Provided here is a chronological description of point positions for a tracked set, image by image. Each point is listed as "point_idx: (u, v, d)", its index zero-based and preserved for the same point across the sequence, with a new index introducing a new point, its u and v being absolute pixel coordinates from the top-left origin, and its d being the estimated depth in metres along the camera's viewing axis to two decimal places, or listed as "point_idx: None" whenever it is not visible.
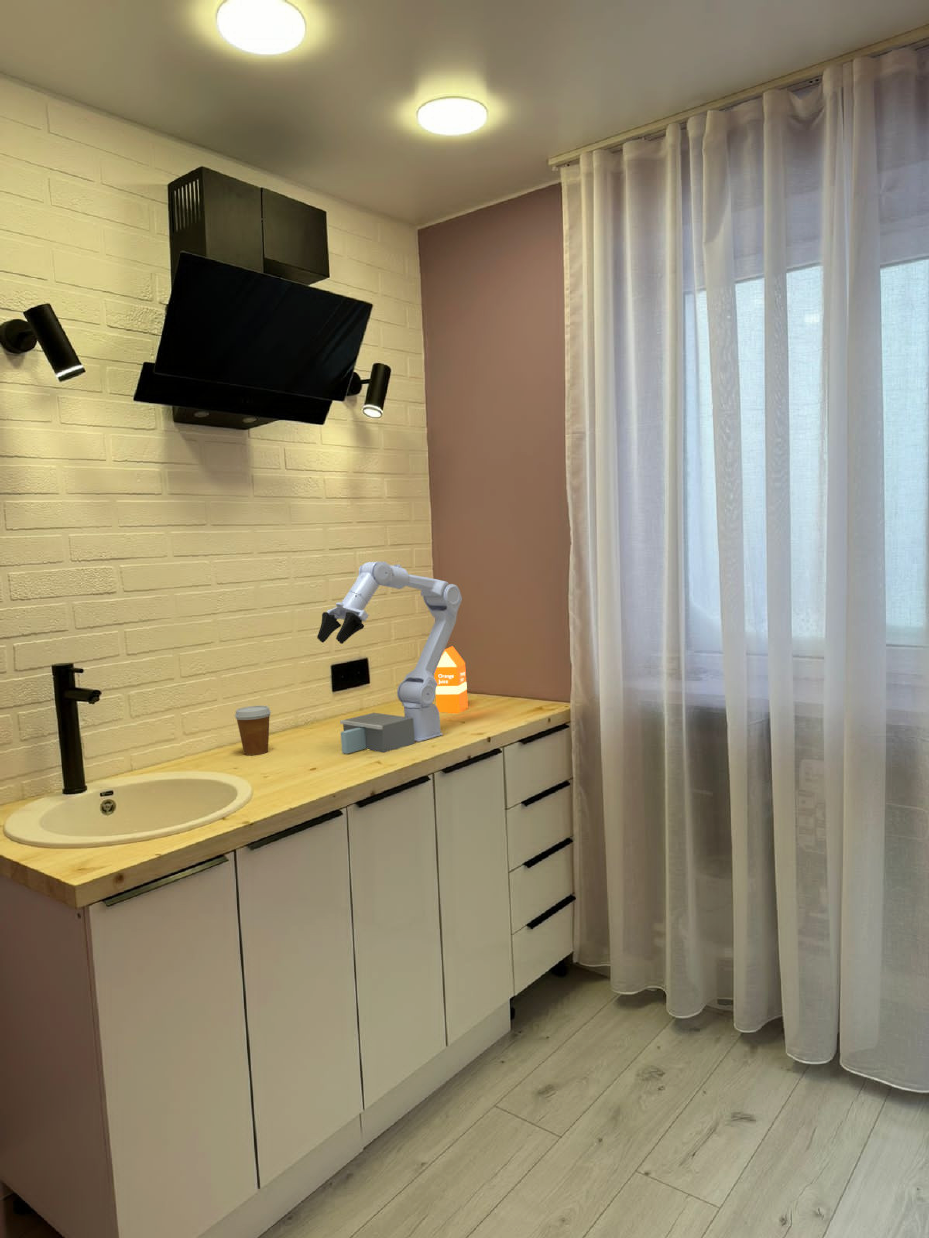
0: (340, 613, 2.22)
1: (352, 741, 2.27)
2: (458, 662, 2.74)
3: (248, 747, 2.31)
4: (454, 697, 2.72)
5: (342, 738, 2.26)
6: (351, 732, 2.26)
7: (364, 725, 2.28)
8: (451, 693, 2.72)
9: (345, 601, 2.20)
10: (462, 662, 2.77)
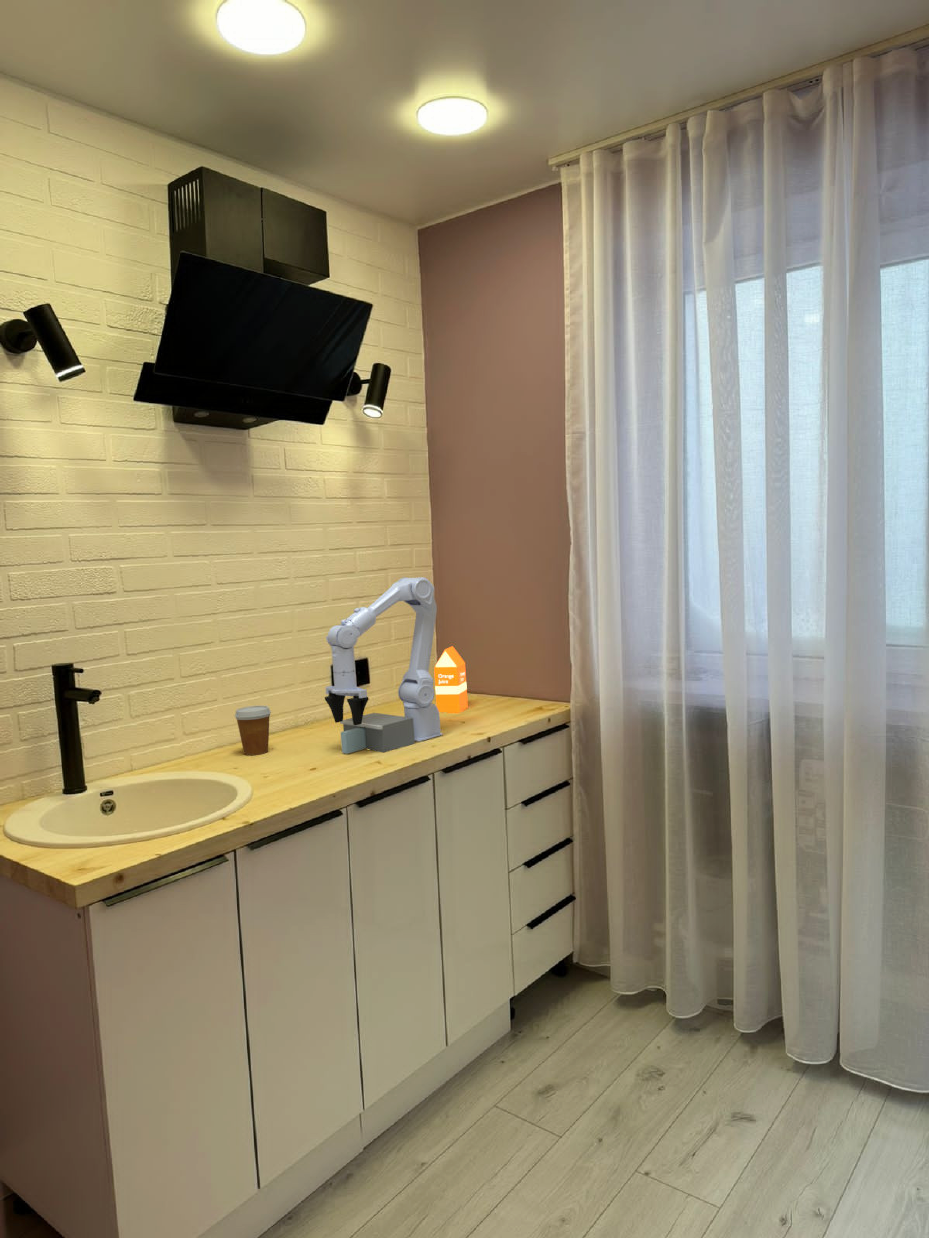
0: None
1: (352, 741, 2.27)
2: (458, 662, 2.74)
3: (248, 747, 2.31)
4: (454, 697, 2.72)
5: (342, 738, 2.26)
6: (351, 732, 2.26)
7: (364, 725, 2.28)
8: (451, 693, 2.72)
9: (337, 684, 2.24)
10: (462, 662, 2.77)
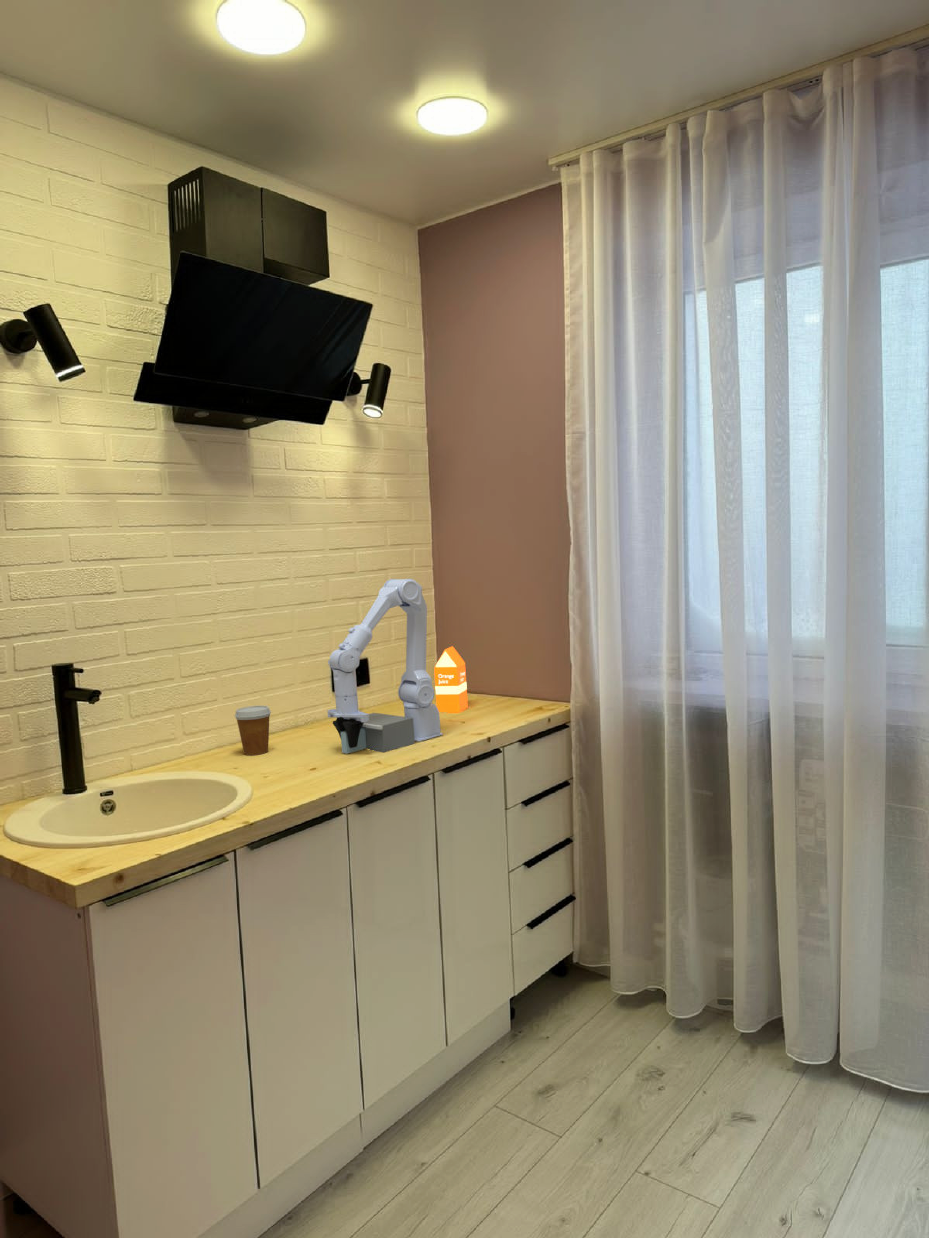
0: None
1: None
2: (458, 662, 2.74)
3: (248, 747, 2.31)
4: (454, 697, 2.72)
5: (342, 738, 2.26)
6: None
7: (364, 725, 2.28)
8: (451, 693, 2.72)
9: (339, 708, 2.24)
10: (462, 662, 2.77)
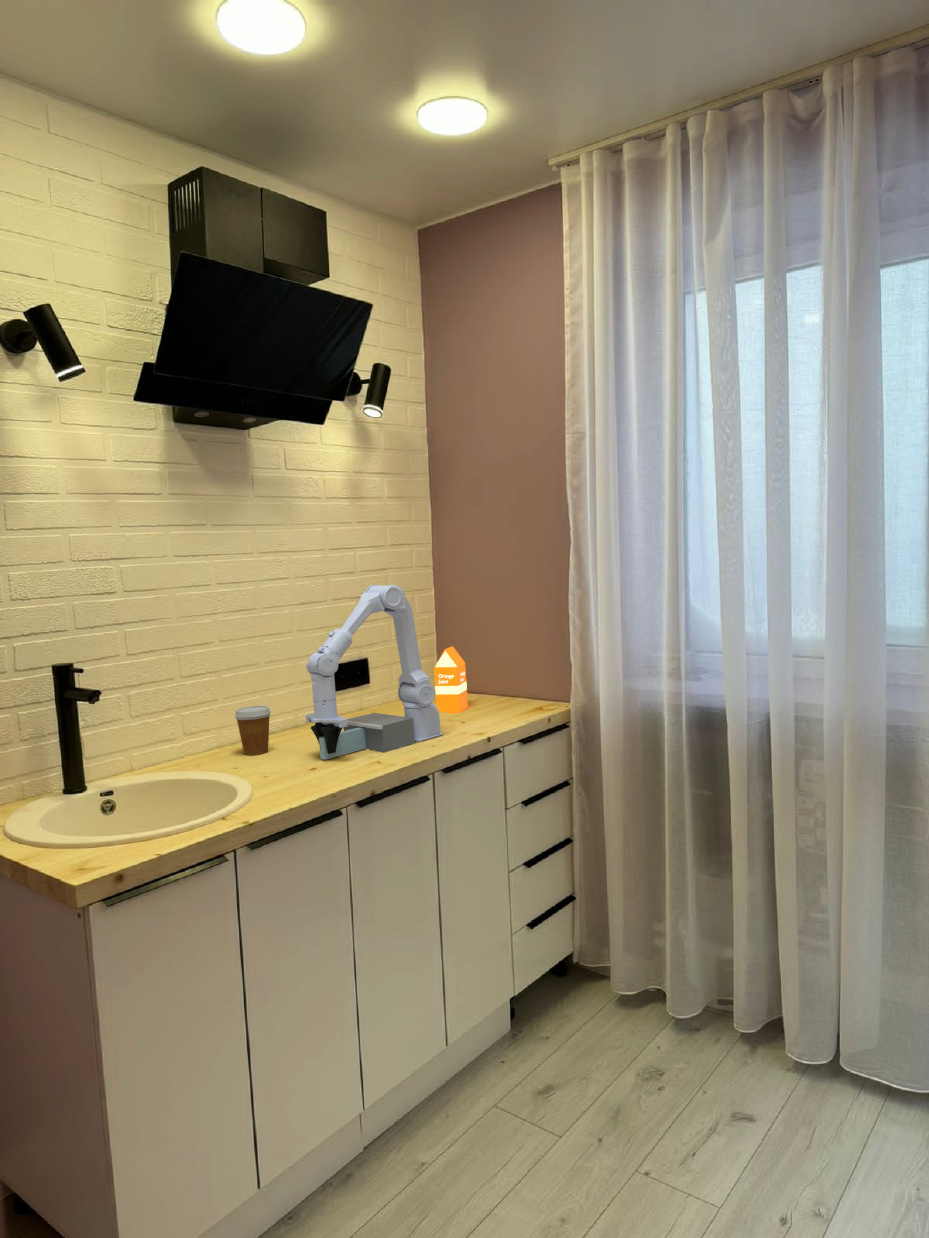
0: None
1: None
2: (458, 662, 2.74)
3: (248, 747, 2.31)
4: (454, 697, 2.72)
5: (320, 744, 2.21)
6: None
7: (364, 725, 2.28)
8: (451, 693, 2.72)
9: (317, 713, 2.19)
10: (462, 662, 2.77)
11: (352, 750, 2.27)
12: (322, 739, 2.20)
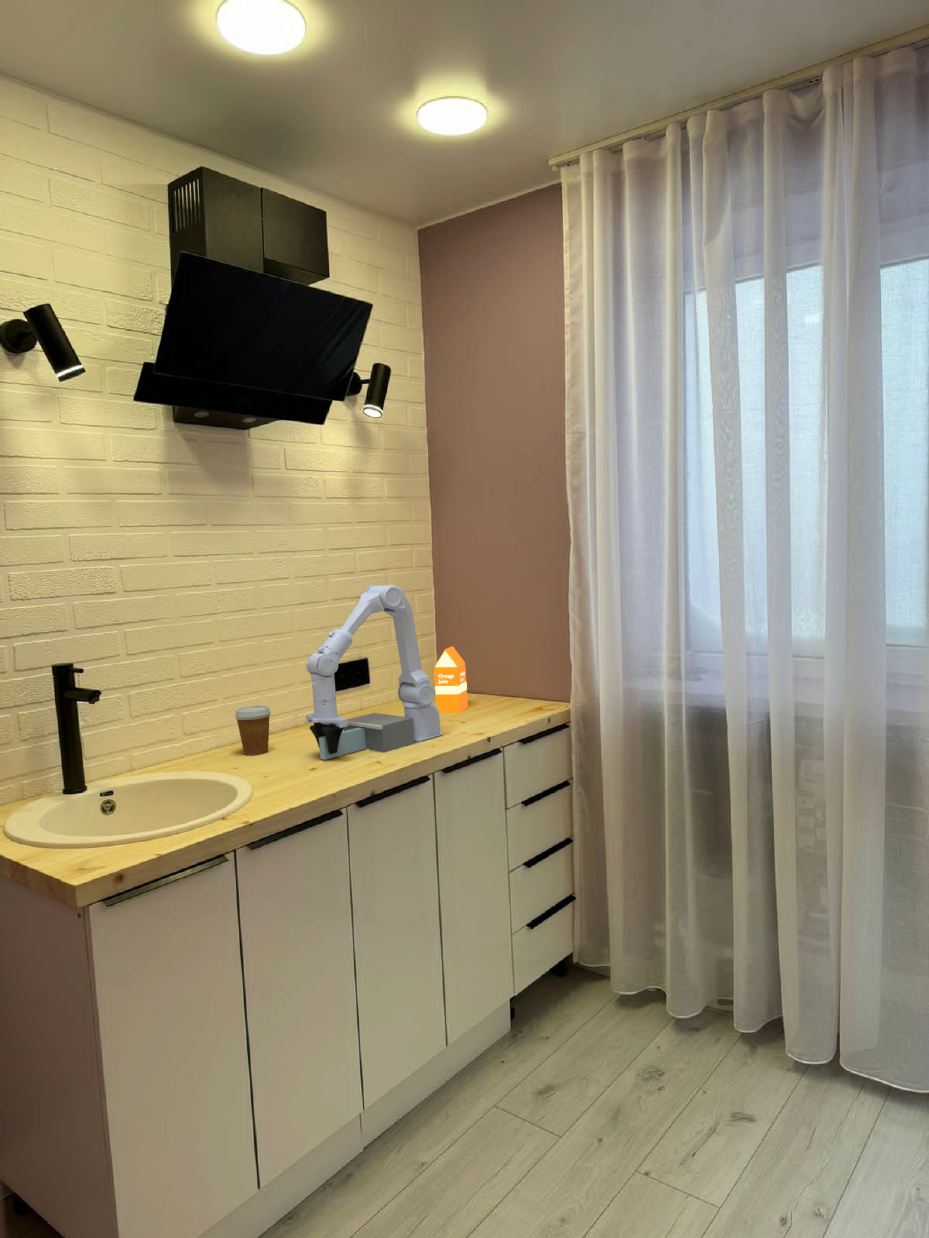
0: None
1: None
2: (458, 662, 2.74)
3: (248, 747, 2.31)
4: (454, 697, 2.72)
5: (320, 744, 2.21)
6: None
7: (364, 725, 2.28)
8: (451, 693, 2.72)
9: (317, 713, 2.19)
10: (462, 662, 2.77)
11: (352, 750, 2.27)
12: (322, 739, 2.20)
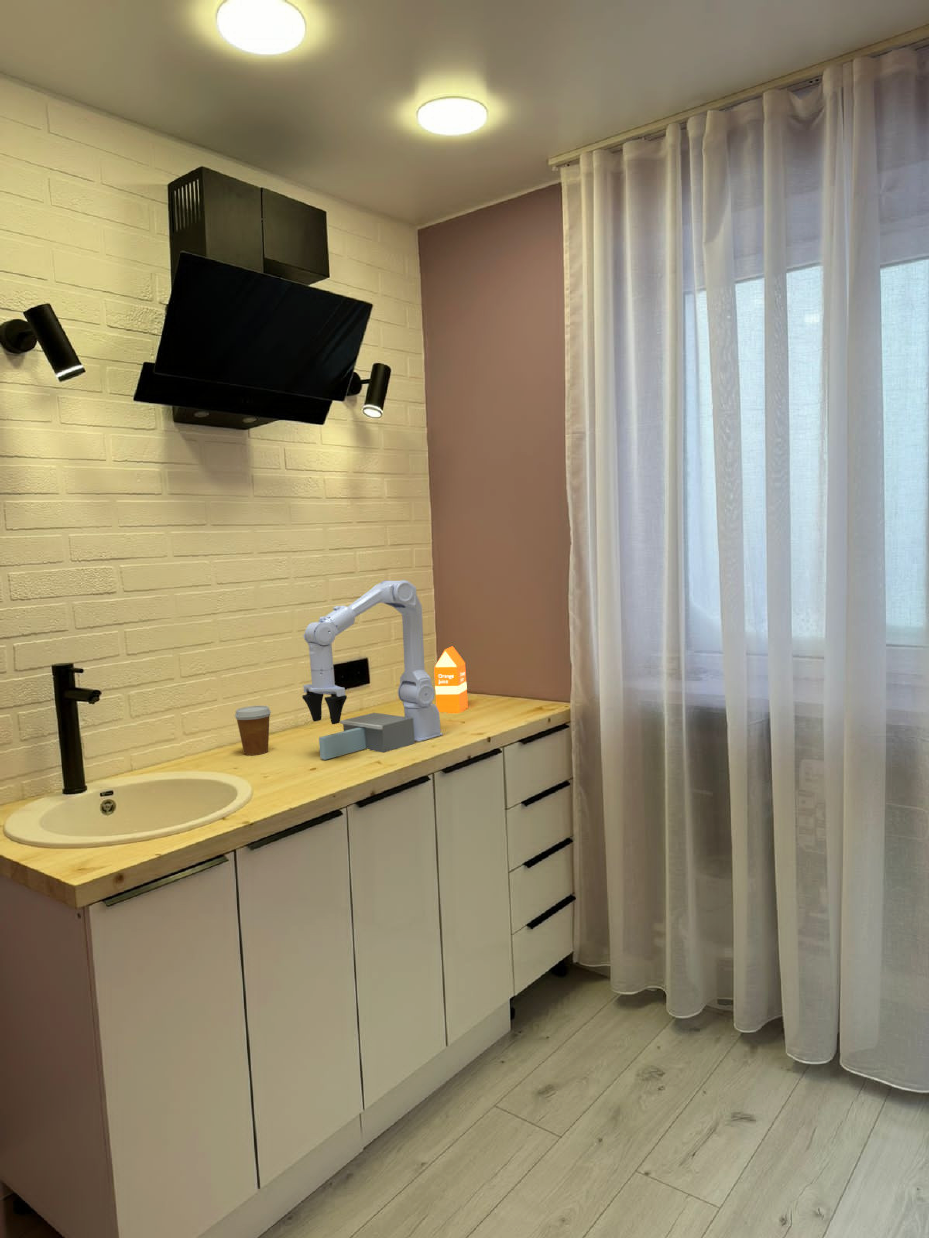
0: None
1: (330, 747, 2.22)
2: (458, 662, 2.74)
3: (248, 747, 2.31)
4: (454, 697, 2.72)
5: (320, 744, 2.21)
6: (330, 738, 2.21)
7: (364, 725, 2.28)
8: (451, 693, 2.72)
9: (315, 682, 2.19)
10: (462, 662, 2.77)
11: (352, 750, 2.27)
12: (322, 739, 2.20)
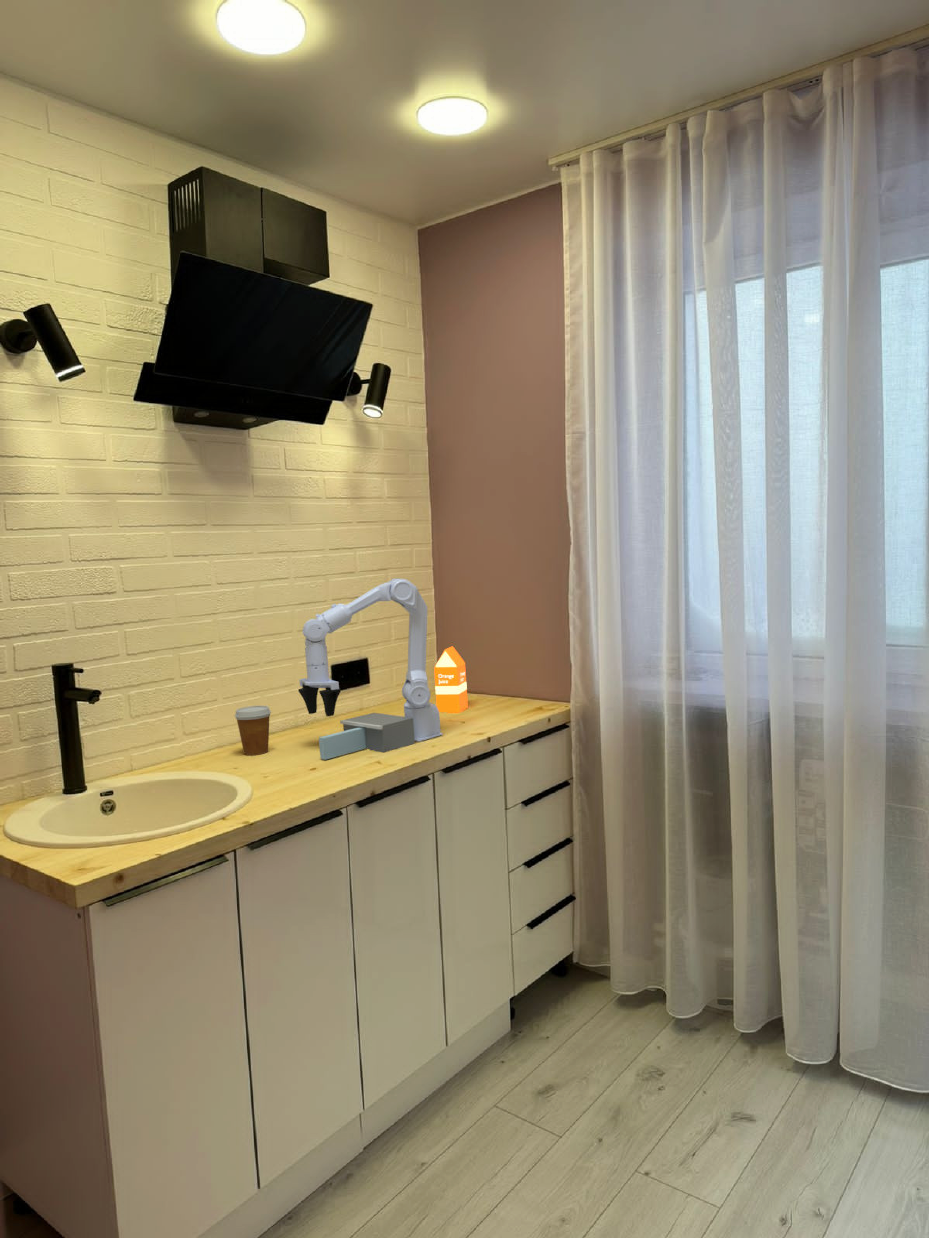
0: None
1: (330, 747, 2.22)
2: (458, 662, 2.74)
3: (248, 747, 2.31)
4: (454, 697, 2.72)
5: (320, 744, 2.21)
6: (330, 738, 2.21)
7: (364, 725, 2.28)
8: (451, 693, 2.72)
9: (310, 676, 2.30)
10: (462, 662, 2.77)
11: (352, 750, 2.27)
12: (322, 739, 2.20)
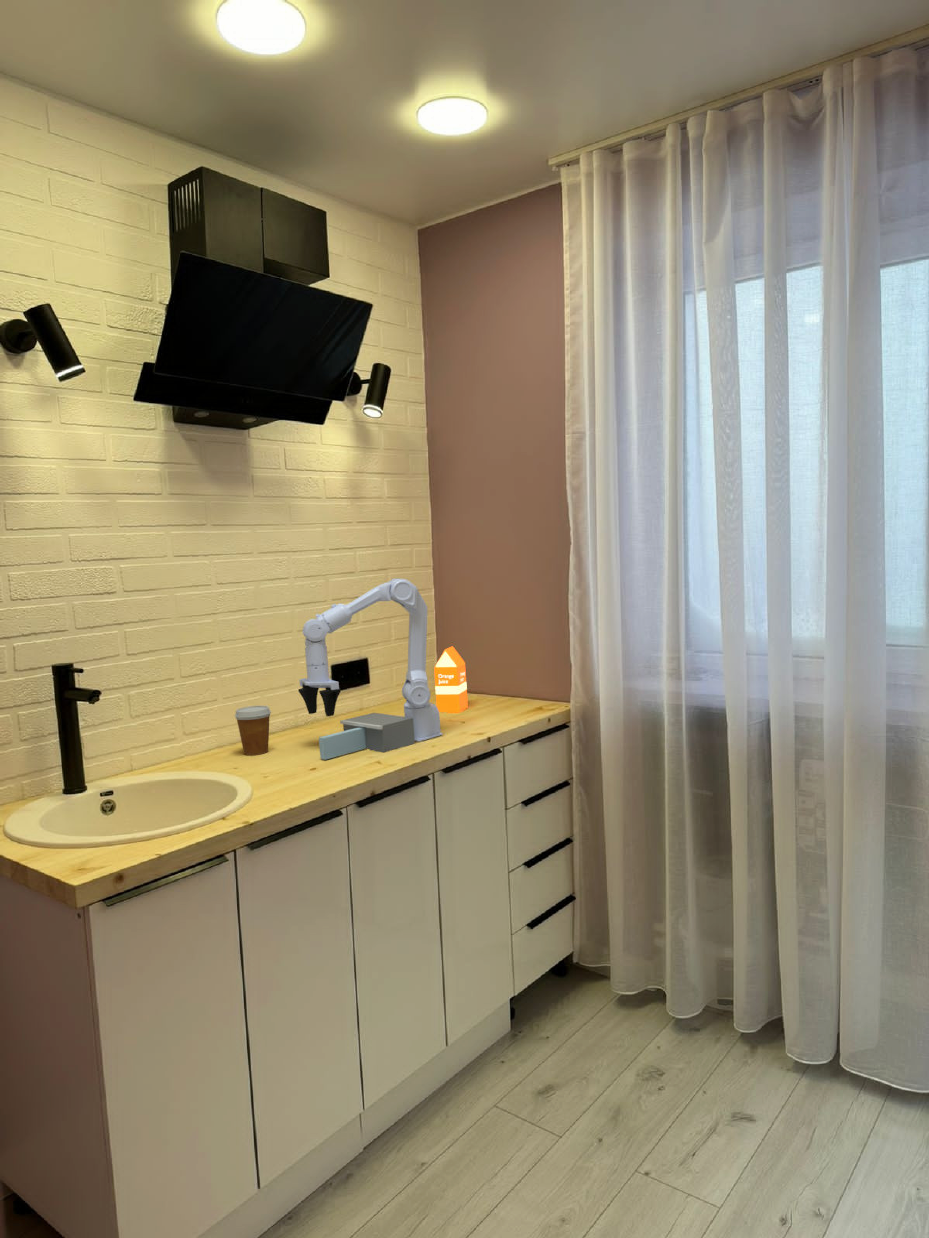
0: None
1: (330, 747, 2.22)
2: (458, 662, 2.74)
3: (248, 747, 2.31)
4: (454, 697, 2.72)
5: (320, 744, 2.21)
6: (330, 738, 2.21)
7: (364, 725, 2.28)
8: (451, 693, 2.72)
9: (310, 676, 2.30)
10: (462, 662, 2.77)
11: (352, 750, 2.27)
12: (322, 739, 2.20)
